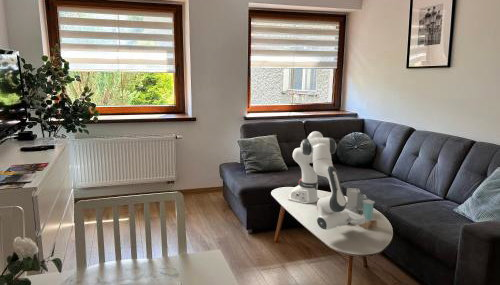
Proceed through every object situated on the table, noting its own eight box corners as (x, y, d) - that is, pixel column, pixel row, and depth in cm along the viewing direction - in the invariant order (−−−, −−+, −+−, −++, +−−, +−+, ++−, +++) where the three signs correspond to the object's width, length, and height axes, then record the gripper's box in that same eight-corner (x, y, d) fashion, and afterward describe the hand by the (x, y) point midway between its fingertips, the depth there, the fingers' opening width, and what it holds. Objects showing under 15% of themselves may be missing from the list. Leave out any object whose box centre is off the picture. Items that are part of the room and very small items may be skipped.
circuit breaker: (368, 214, 243) (370, 193, 240) (345, 212, 246) (347, 191, 243) (367, 210, 250) (368, 189, 247) (345, 208, 253) (346, 187, 250)
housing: (367, 222, 222) (369, 203, 219) (361, 219, 226) (362, 200, 224) (373, 220, 225) (374, 201, 222) (366, 217, 229) (368, 199, 226)
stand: (367, 229, 221) (368, 223, 220) (357, 224, 227) (357, 218, 226) (376, 226, 225) (376, 220, 224) (365, 222, 231) (366, 216, 231)
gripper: (355, 218, 203) (372, 213, 210) (329, 206, 220) (345, 202, 227) (355, 229, 204) (371, 224, 212) (328, 216, 221) (345, 212, 228)
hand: (358, 212), depth 219 cm, fingers open, 8 cm apart
